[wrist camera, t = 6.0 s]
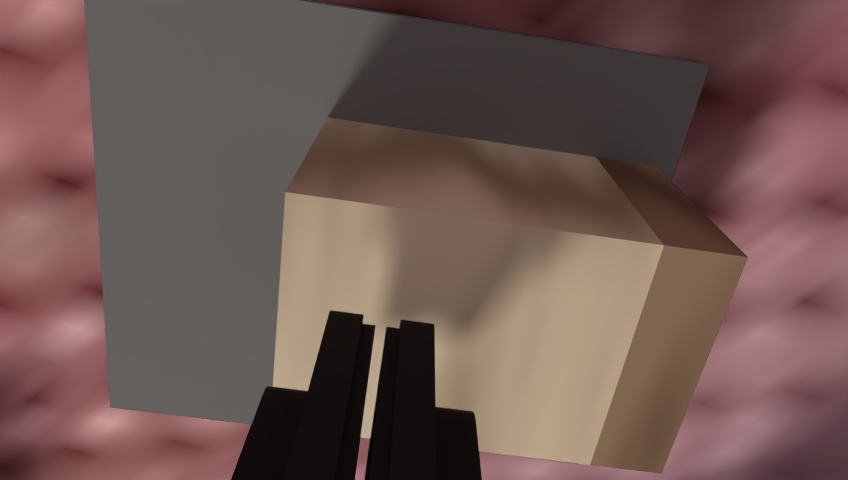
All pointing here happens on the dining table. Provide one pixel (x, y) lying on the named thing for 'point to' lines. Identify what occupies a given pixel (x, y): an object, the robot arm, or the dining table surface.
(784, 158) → the dining table surface
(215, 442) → the dining table surface
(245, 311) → the mat
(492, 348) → the tall block
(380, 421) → the robot arm
